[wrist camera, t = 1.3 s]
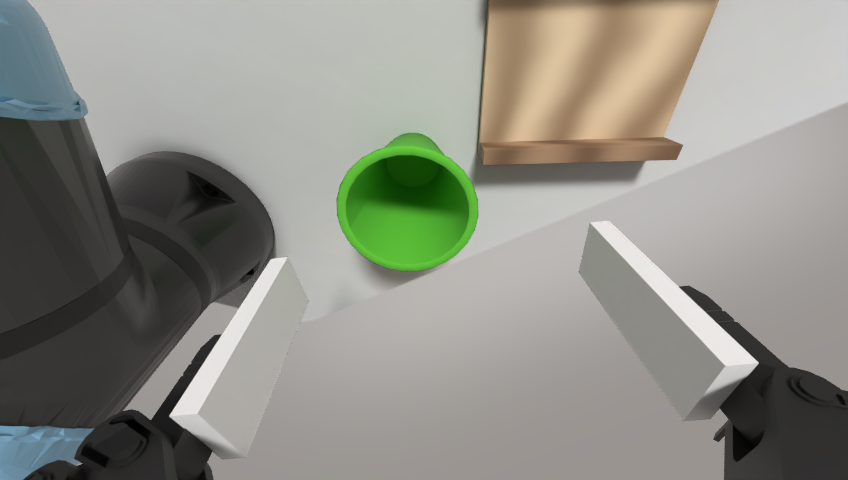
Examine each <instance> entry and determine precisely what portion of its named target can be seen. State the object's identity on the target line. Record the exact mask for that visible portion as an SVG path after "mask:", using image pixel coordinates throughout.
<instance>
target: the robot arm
mask: <svg viewBox="0 0 848 480" xmlns="http://www.w3.org/2000/svg"><path fill="white" fill-rule="evenodd" d="M87 113H88V109H87V106H86V103H85V101H84V100H83V99H82V98H81V97H80V96H79V95H78V94H77V93H76V92H75V91H74V89H73V87H72V84H71V82H70V80H69V77H68V75H67V73H66V70H65V68H64V66H63V64H62V61H61V59H60V57H59V54H58V52H57V50H56V47H55V45H54V43H53V41H52V38H51V36H50V34H49V31H48V29H47V27H46V25H45V23H44V22H43V20H42V18H41V17H40V16H39V14H38V13H37V11H36V10H35V9H34V8H33V7H32V6H31V4H30V3H29V2H28V1H27V0H0V480H213V475H212V470H211V468H210V466H209V465H208V463H207V461H208V459H209V457H210V455H211V453H212V452H214V453H215V454H216V455H217V456H219V457H220V458H221V459H233V458H245V457H246V456H247V453H248V451H249V448H250V446H251V443H252V441H253V438H254V436H255V433H256V431H257V428H258V426H259V424H260V421H261V418H262V416H263V414H264V411H265V409H266V406H267V403H268V401H269V399H270V396H271V393H272V391H273V389H274V386H275V383H276V381H277V379H278V376H279V374H280V371H281V369H282V366H283V364H284V361H285V359H286V356H287V354H288V351H289V349H290V346H291V344H292V341H293V339H294V336H295V334H296V331H297V329H298V326H299V324H300V321H301V319H302V316H303V314H304V311H305V309H306V307H307V304H308V302H309V300H308V298H307V296H306V294H305V292H304V290H303V288H302V286H301V284H300V282H299V279H298V277H297V275H296V273H295V271H294V269H293V267H292V265H291V263H290V261H289V259H288V257H283V258H275V259H271V260H270V261H269V263H268V264H267V266H266V267H265V269H264V270H263V272H262V274H261V275H260V277H259V278H258V280H257V281H256V283H255V284H254V286H253V287H252V289H251V291H250V292H249V294H248V295H247V297H246V298H245V300H244V301H243V303H242V304H241V306H240V308H239V309H238V311H237V312H236V314H235V315H234V317H233V318H232V320H231V321H230V323H229V325H228V326H227V328H226V329H225V331H224V332H223V334H221V335H214V336H213V337H212V338H211V339H210V340H209V341H208V342H207V343H206V344H205V345H203V346H202V347H201V348H200V350H199V351H198V353H197V354H196V356H195V357H194V359H193V360H192V363H191V365H189V366H188V367H187V369H186V370H185V372H184V373H183V374H184V375H183V376H182V377H180V379H179V381H178V382H177V383H176V385H175V386H174V388H173V389H172V391H171V392H170V394H169V395H168V396H167V398H166V400H165V401H164V402H163V404H162V405H161V407H160V408H159V410H158V411H157V412H156V414H155V415H154V417H153V418H152V420H149V419H148V418H147V417H146V416H144V415H143V414H142V413H140V412H139V411H136V410H127V411H123V410H124V409H125V408H126V406H127V405H128V404H129V403H130V402H131V400H132V399H133V398H134V397H135V395H136V394H137V393H138V391H139V390H140V389H141V388H142V386H143V385H144V384H145V383H146V382H147V380H148V379H149V378H150V377H151V375H152V374H153V373H154V372H155V371H156V369H157V368H158V367H159V366H160V364H161V363H162V362H163V361H164V359H165V358H166V357H167V356H168V355H169V353H170V352H171V351H172V350H173V348H174V347H175V346H176V345H177V343H178V342H179V341H180V340H181V338H182V337H183V336H184V335H185V333H186V332H187V331H188V330H189V328H190V327H191V326H192V325H193V324H194V322H195V321H196V320H197V319H198V317H199V316H200V315H201V313H202V312H203V311H204V310H205V309H206V308H207V307H208V305H209V304H210V303H212V302H214V301H216V300H217V299H219V298H220V297H222V296H224V295H225V294H227V293H228V292H230V291H232V290H233V289H235V288H236V287H238V286H240V285H241V284H243V283H245V282H246V281H248V280H249V279H251V278H252V277H253V276H254V275H255V274H256V273H257V272H258V271H259V270H260V269H261V267H262V266H263V264H264V263H265V262H266V260H267V259H268V257H269V256H270V254H271V251H272V248H273V243H274V234H273V228H272V224H271V221H270V218H269V216H268V214H267V212H266V210H265V208H264V207H263V205H262V204H261V202H260V201H259V199H258V198H257V197H256V196H255V194H254V193H253V192H252V191H251V190H250V189H249V188H248V187H247V186H246V185H245V184H244V183H243V182H241V181H240V180H239V179H238V178H236V177H235V176H234V175H232V174H231V173H229V172H228V171H226V170H225V169H223V168H221V167H220V166H218V165H216V164H214V163H212V162H209V161H207V160H205V159H202V158H199V157H196V156H193V155H189V154H185V153H179V152H154V153H149V154H146V155H143V156H140V157H138V158H135V159H133V160H131V161H128V162H126V163H124V164H122V165H120V166H118V167H117V168H115V169H114V170H113V171H111V172H110V173H109V174H108V175H107V177H106V176H105V173H104V170H103V168H102V165H101V162H100V159H99V157H98V154H97V151H96V149H95V146H94V143H93V141H92V138H91V135H90V132H89V130H88V127H87V124H86V122H85V119H84V116H85V115H86V114H87ZM579 273H580V275H581V276H582V278H583V279H584V281H585V282H586V283H587V285H588V286H589V288H590V289H591V291H592V292H593V293H594V295H595V296H596V298H597V299H598V300H599V302H600V303H601V305H602V306H603V308H604V309H605V311H606V312H607V314H608V315H609V316H610V318H611V319H612V321H613V322H614V324H615V325H616V326H617V328H618V329H619V331H620V332H621V333H622V335H623V336H624V337H625V339H626V341H627V342H628V344H629V345H630V346H631V348H632V349H633V351H634V352H635V354H636V355H637V356H638V358H639V359H640V361H641V362H642V363H643V365H644V366H645V368H646V369H647V371H648V372H649V374H650V375H651V377H652V378H653V379H654V381H655V382H656V384H657V385H658V387H659V388H660V389H661V391H662V392H663V394H664V395H665V396H666V398H667V399H668V401H669V402H670V404H671V405H672V407H673V408H674V409H675V411H676V412H677V414H678V415H679V417H680V418H681V419H682V421H693V420H705V419H711V417H713V415H714V414H715V413H716V412H717V410H719V408H720V409H721V410H722V412H723V413H724V414H725V415H726V416H727V418H728V419H729V420H728V421H727V422H726V423H725V424H724V425H723V426H722V427H721V428H720V429H719V430H718V431H717V433H716V434H715V437H714V440H715V441H718V442H719V441H720V440H721V439H722V438H723V437H724V436H725V460H724V461H725V462H724V464H725V465H724V480H848V391H844V390H841V389H840V388H838V387H837V386H835V385H834V384H832V383H831V382H829V381H827V380H826V379H824V378H822V377H820V376H817V375H815V374H813V373H811V372H808V371H805V370H800V369H797V368H789V367H788V366H787V365H785V364H784V363H783V362H782V361H781V360H779V359H778V358H777V357H776V356H775V355H774V354H773V353H772V352H770V351H769V350H768V349H767V348H766V347H765V346H764V345H762V344H761V343H760V342H759V341H758V340H757V339H756V338H754V337H753V336H752V335H751V334H750V333H749V332H748V331H747V330H745V329H744V328H743V327H742V326H741V325H740V324H739V323H738V322H734V319H733V318H732V317H731V316H730V315H729V314H727V313H726V312H725V311H722V309H721V307H719V306H718V305H717V304H716V303H715V302H714V301H713V300H711V299H710V298H709V297H708V296H707V295H705V294H703V293H701V292H699V291H697V290H696V289H694V288H692V287H690V286H681V287H678V286H677V285H676V284H675V283H674V282H673V281H672V280H671V279H670V278H669V277H668V276H666V275H665V274H664V273H663V272H662V271H661V270H660V269H659V268H658V267H657V266H656V265H655V264H654V263H653V262H652V261H651V260H649V259H648V258H647V257H646V256H645V255H644V254H643V253H642V252H641V251H640V250H639V249H638V248H637V247H636V246H635V245H634V244H633V243H631V242H630V241H629V240H628V239H627V238H626V237H625V236H624V235H623V234H622V233H621V232H620V231H619V230H618V229H617V228H616V227H615V226H614V225H613V224H612V223H610V222H609V221H601V222H591V223H590V225H589V229H588V234H587V238H586V242H585V246H584V251H583V255H582V260H581V264H580V269H579ZM79 462H81V463H83V464H81V465H79V466H76V465H77V464H78V463H79Z"/></svg>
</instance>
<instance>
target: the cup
mask: <svg viewBox="0 0 848 480" xmlns="http://www.w3.org/2000/svg"><path fill="white" fill-rule="evenodd" d="M337 216H338V219H339V223H340V226H341V229H342V231H343V233H344V234H345V236H346V238H347V239H348V241H349V242H350V244H351V245H352V246H353V247H354V248H355V249H356V250H357V251H358V252H359V253H360V254H361V255H362V256H364V257H366V258H367V259H369V260H370V261H372V262H373V263H376V264H378V265H381V266H383V267H386V268H389V269H394V270H400V271H419V270H425V269H430V268H433V267H436V266H438V265H440V264H443V263H445V262H447V261H448V260H450V259H451V258H453V257H454V256H456V255H457V254H458V253H459V252H460V251H461V250H462V248H463V247H464V246H465V245H466V244H467V243H468V241H469V239H470V237H471V236H472V234H473V232H474V230H475V227H476V223H477V219H478V199H477V196H476V193H475V190H474V186H473V184H472V183H471V181H470V180H469V178H468V176H467V175H466V173H465V172H464V170H462V169H461V168H460V167H459V166H458V165H457V164H456V163H455V162H454V161H453V160H451V159H450V158H448V157H446V156H445V155H444V154H443V153H442V151H441V150H440V149H439V148H438V146H437V145H436V144H435V143H434V142H433V141H432V140H431V139H430V138H428V137H427V136H425V135H423V134H419V133H406V134H402V135H400V136H399V137H397V138H395V139H394V140H393V141H391V142H390V143H389V144H388V145H386V146H385V147H384V148H382V149H378V150H376V151H374V152H372V153H370V154H368V155H367V156H365V157H363V158H361V159H360V160H359V161H358V162H357V163H356V164H355V165H354V166H353V167H352V168H351V169H350V170H349V171H348V172H347V174H346V176H345V177H344V179H343V181H342V183H341V185H340V188H339V192H338V196H337Z"/></svg>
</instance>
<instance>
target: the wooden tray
mask: <svg viewBox="0 0 848 480" xmlns="http://www.w3.org/2000/svg"><path fill="white" fill-rule="evenodd" d="M718 2H719V0H488V11H487V25H486V39H485V54H484V68H483V82H482V96H481V110H480V125H479V139H478V155H479V157H480V160H481V162H482V164H483V165H504V164H540V163H576V162H612V161H648V160H677V157H678V155H679V153H680V151H681V149H682V146H683V145H681V144H679V143H677V142H674V141H672V140H669V139H667V138H664V134H665V132H666V129H667V127H668V124H669V122H670V119H671V117H672V115H673V112H674V110H675V107H676V105H677V102H678V100H679V97H680V95H681V93H682V90H683V88H684V85H685V83H686V80H687V78H688V75H689V73H690V70H691V68H692V66H693V63H694V61H695V58H696V56H697V53H698V51H699V48H700V46H701V43H702V41H703V39H704V36H705V34H706V31H707V29H708V26H709V24H710V21H711V19H712V16H713V14H714V12H715V9H716V7H717V4H718Z"/></svg>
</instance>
